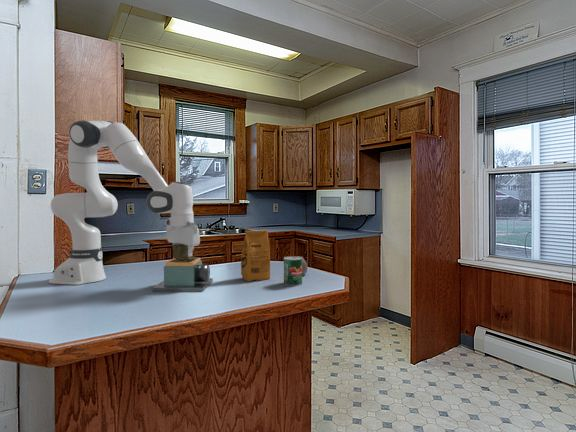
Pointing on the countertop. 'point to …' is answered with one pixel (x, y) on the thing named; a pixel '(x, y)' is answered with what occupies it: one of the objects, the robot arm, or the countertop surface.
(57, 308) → the countertop surface
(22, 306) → the countertop surface
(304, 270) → the vase
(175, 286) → the motor mount
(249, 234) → the coffee package
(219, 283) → the countertop surface
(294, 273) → the canned tomato
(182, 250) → the cup
